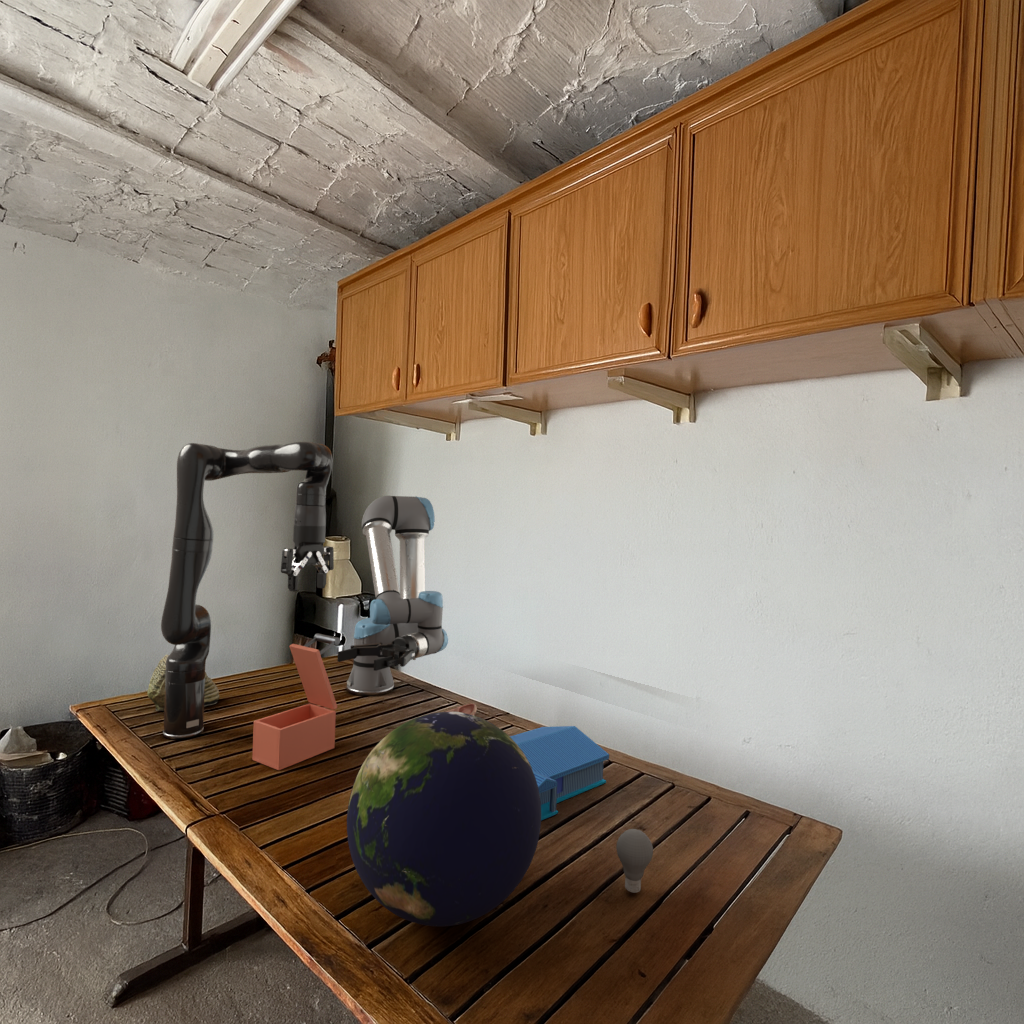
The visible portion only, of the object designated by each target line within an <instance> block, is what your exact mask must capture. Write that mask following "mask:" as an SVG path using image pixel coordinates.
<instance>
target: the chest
mask: <svg viewBox="0 0 1024 1024" xmlns="http://www.w3.org/2000/svg"><path fill="white" fill-rule="evenodd" d="M336 716H337V711H336V710H333V709H329V708H326V707H323V706H320V705H316V704H313V703H306V704H303V705H301V706H300V705H299V706H297V707H293V708H291V709H287V710H284V711H281V712H277V713H274V714H272V715H268V716H265V717H262V718H258V719H256V720H254V721H253V730H252V731H253V732H252V757H251V760H252V761H253V762H257V763H259V764H262V765H264V766H266V767H269V768H271V769H273V770H277V771H281V770H284V769H286V768H288V767H291V766H293V765H296V764H298V763H301V762H304V761H305V760H308V759H311V758H313V757H315V756H318V755H321V754H324V753H325V752H328V751H330V750H333V749H335V745H336V720H337V719H336V718H337V717H336Z"/></svg>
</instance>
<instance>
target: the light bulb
mask: <svg viewBox="0 0 1024 1024" xmlns="http://www.w3.org/2000/svg"><path fill="white" fill-rule="evenodd" d="M615 849H616V854H617V857H618V859H619V861H620V863H621V865H622V867H623V873H624V874H623V875H624V876H625V878H624V888H625V890H627V891H628V892H630V893H634V894H635V893H639V892H640V891H641V889H642V887H641V886H642V879H643V877H644V875H645V871H646V868H647V867H648V866H649V864H650V863H651V861H652V859H653V855H654V847H653V843H652V841H651V838H649V836H648V835H647V834H646V833H645V832H643V831H642V830H641V829H636V828H629V829H627V830H625V831H623V832H622V833H621V834H620V835H619V837H618V839H617V841H616V847H615Z"/></svg>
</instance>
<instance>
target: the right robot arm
mask: <svg viewBox="0 0 1024 1024" xmlns="http://www.w3.org/2000/svg"><path fill="white" fill-rule="evenodd" d="M435 519H436V518H435V511H434V506H433V504H432V502H431V501H430V499H428V498H427V497H423V496H422V497H421V496H416V495H415V496H409V495H408V496H406V495H405V496H403V495H383V496H379V497H377V498H376V499H374V500H373V501H371V503H369V504H368V506H367V507H366V509H365V511H364V513H363V516H362V519H361V530H362V531H361V532H362V535H363V536H364V537H365V538H366V543H367V550H368V557H369V563H370V569H371V570H370V571H371V575H372V582H373V589H374V596H375V599H373V600H372V601H371V602H370V604H369V617H366V618H362V619H361V620H359V621H358V622H356V623H355V625H354V626H355V627H354V632H353V633H354V634H353V639H354V640H353V645H350V648H349V649H348V648H347V649H344V650H340V651H339V650H338V651H337V662H338V663H342V662H344V661H348V660H352V659H353V662H352V663H353V665H352V668H351V672H350V674H349V677H348V680H346V691H347V693H350V694H352V695H356V696H367V697H369V696H371V697H373V696H381V695H382V696H383V695H386V694H389V693H391V692H393V691H394V689H395V682H394V678H393V677H394V676H393V674H392V670H391V667H397V666H400V667H402V668H404V667H405V666H406V665H407V664H408V663H409V662H410V661H416V660H417V659H418V658H422V657H425V656H429V655H435V654H437V653H440V652H442V651H444V650H445V649H446V648H447V647H448V644H449V636H448V633H447V631H446V630H445V629H444V628H443V611H444V599H443V594H442V593H441V592H439V591H437V590H436V591H435V590H426V560H425V559H426V558H425V557H426V556H425V555H426V552H425V550H426V548H425V545H426V544H425V543H426V539H427V538H428V537H429V536H430V531H433V529H434V527H435V521H436V520H435ZM392 531H394V536H395V537H396V538H397V539H398V541H399V579H398V574H397V568H396V562H395V556H394V552H393V551H394V549H393V546H392V539H391V533H392Z"/></svg>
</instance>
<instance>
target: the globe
mask: <svg viewBox="0 0 1024 1024" xmlns="http://www.w3.org/2000/svg"><path fill="white" fill-rule="evenodd" d="M347 804H348V805H347V811H346V812H347V813H346V835H347V843H348V848H349V853H350V857H351V860H352V863H353V865H354V868H355V870H356V873H357V874H358V876H359V878H360V880H361V882H362V884H363V885H364V886H365V888H366V889H367V891H368V892H369V894H370V895H371V896H372V897H373V898H374V899H375V900H376V901H377V903H379V904H380V905H382V906H383V907H384V909H386V910H387V911H390V912H391V913H392V914H393V915H395V916H397V917H399V918H400V919H403V920H405V921H408V922H411V923H413V924H418V925H421V926H426V927H437V928H438V927H441V928H443V927H453V926H458V925H463V924H466V923H468V922H472V921H474V920H477V919H479V918H481V917H483V916H485V915H487V914H489V913H490V912H491V911H493V910H494V909H495V908H497V907H499V906H500V905H501V904H502V903H503V902H504V901H505V900H507V899H508V897H510V895H511V894H512V893H513V892H514V891H515V889H516V888H517V887H518V886H519V885H520V883H521V882H522V880H523V879H524V878H525V876H526V874H527V872H528V870H529V868H530V866H531V863H532V861H533V859H534V857H535V854H536V852H537V848H538V844H539V839H540V833H541V826H542V821H541V801H540V794H539V789H538V785H537V782H536V778H535V775H534V773H533V770H532V767H531V765H530V763H529V761H528V760H527V758H526V756H525V755H524V753H523V751H522V750H521V749H520V748H519V746H518V745H517V744H516V743H515V742H514V741H513V740H512V739H511V737H510V735H508V733H506V732H505V731H504V730H503V729H501V728H500V727H499V726H497V725H496V724H494V723H493V722H490V721H488V720H486V719H484V718H482V717H479V716H477V715H475V714H474V715H470V714H466V713H461V712H445V711H439V712H432V713H427V714H424V715H420V716H418V717H415V718H412V719H410V720H408V721H406V722H404V723H403V724H401V725H399V726H397V727H395V728H394V729H393V730H392V731H390V732H389V733H388V734H386V735H385V737H383V738H382V739H381V740H380V741H379V742H378V743H377V744H376V745H375V746H374V747H373V748H372V749H371V751H370V752H369V753H368V755H367V757H366V758H365V759H364V761H363V763H362V765H361V766H360V769H359V770H358V773H357V775H356V777H355V779H354V782H353V786H352V788H351V792H350V795H349V800H348V803H347Z"/></svg>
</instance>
